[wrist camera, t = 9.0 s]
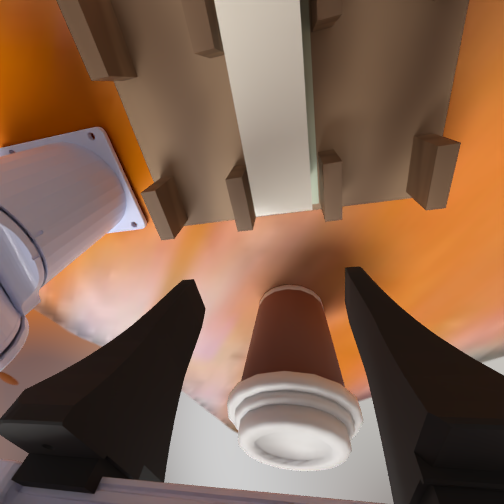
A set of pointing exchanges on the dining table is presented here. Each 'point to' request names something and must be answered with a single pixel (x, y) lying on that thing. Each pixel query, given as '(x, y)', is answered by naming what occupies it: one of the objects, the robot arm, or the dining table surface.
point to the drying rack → (317, 101)
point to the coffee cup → (293, 387)
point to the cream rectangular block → (269, 99)
